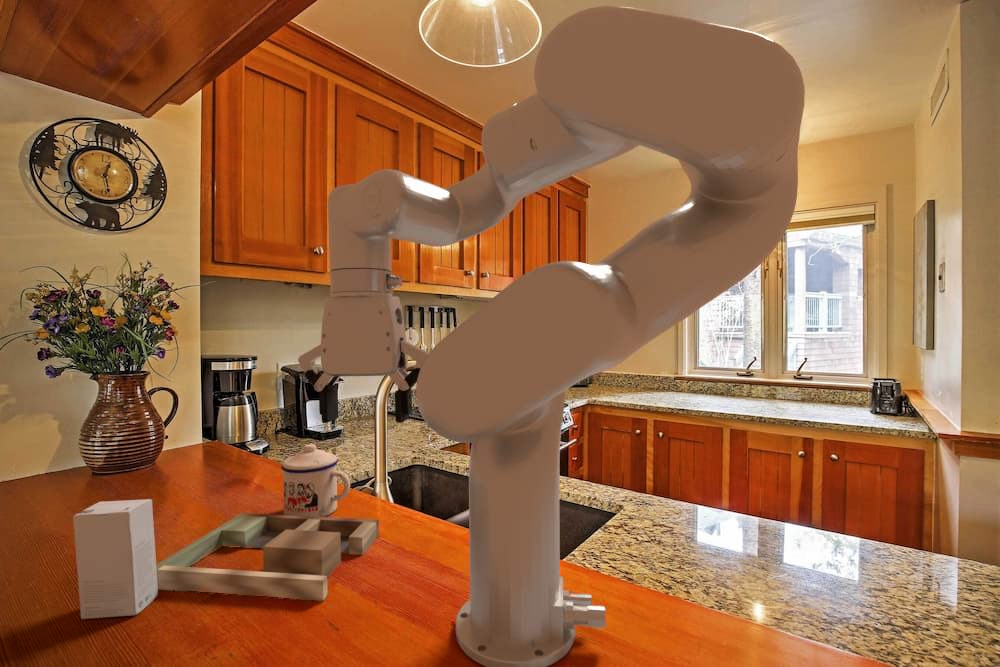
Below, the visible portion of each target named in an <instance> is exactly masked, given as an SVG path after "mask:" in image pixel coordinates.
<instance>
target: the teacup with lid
mask: <svg viewBox="0 0 1000 667" xmlns="http://www.w3.org/2000/svg"><path fill="white" fill-rule="evenodd" d="M338 462H339V459H338V457H337V456H336V455H335V454H334V453H331V452H326V451H324V450H321V449H318V448H317V446H316V444H315V443H309V444H305V445H304V446H303V450H302V451H299V452H297V453H296V454H295V455H293V456H290V457H287V458H286V459H285V460H284V461H283V462H282V465H281V470H282V479H283V480H282V483H283V484H282V485H283V515H292V516H313V517H328V516H329V515H331V514H333V513H334V512H335V511H336V510H337V507H338V501H340V500H343V499H344V498H346V496H348V494H349V492H350V489H351V480H350V477H349V476H348V474H346V472H343V471H341V470H337V467H338V466H337V464H338ZM337 478H340V479H341V480H342V482H343V484H344V486H343V487H344V488H343V491H342V493H341V494H339V495H338V479H337Z"/></svg>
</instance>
